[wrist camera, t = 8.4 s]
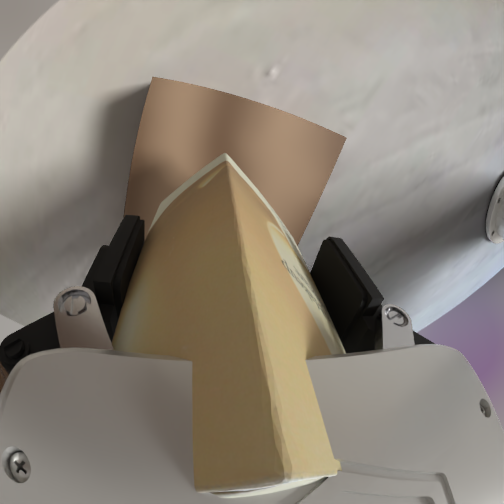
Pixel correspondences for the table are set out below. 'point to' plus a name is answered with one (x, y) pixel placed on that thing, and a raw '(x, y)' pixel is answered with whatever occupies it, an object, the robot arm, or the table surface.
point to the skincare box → (235, 333)
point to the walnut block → (228, 150)
